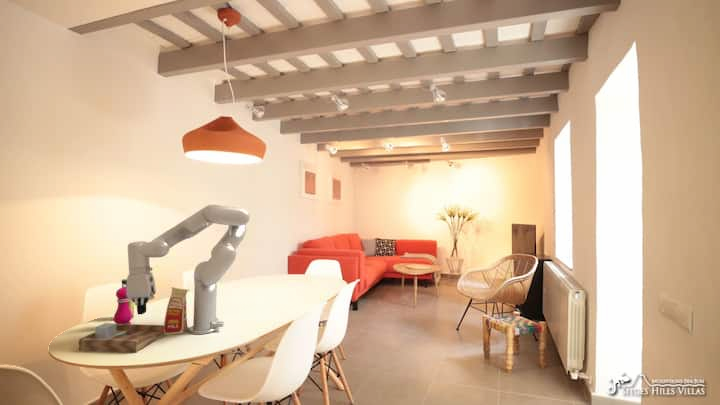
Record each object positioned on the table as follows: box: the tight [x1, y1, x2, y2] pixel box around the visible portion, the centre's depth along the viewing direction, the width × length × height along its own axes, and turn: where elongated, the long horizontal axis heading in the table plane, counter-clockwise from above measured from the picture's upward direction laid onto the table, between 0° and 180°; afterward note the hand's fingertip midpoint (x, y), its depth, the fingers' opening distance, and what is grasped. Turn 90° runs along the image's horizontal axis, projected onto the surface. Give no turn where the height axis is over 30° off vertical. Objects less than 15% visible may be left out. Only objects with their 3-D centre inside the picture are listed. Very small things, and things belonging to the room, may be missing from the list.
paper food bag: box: [163, 286, 189, 336], centre depth 157 cm, size 9×9×20 cm
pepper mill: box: [113, 284, 133, 324], centre depth 160 cm, size 7×7×20 cm
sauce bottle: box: [121, 278, 135, 319], centre depth 172 cm, size 7×6×20 cm
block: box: [94, 322, 116, 339], centre depth 142 cm, size 5×5×5 cm
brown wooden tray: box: [78, 323, 165, 354], centre depth 142 cm, size 23×18×4 cm
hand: (141, 313), depth 145 cm, fingers closed
